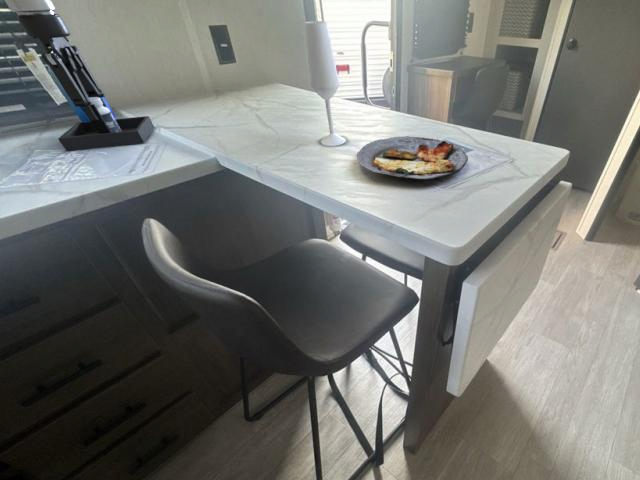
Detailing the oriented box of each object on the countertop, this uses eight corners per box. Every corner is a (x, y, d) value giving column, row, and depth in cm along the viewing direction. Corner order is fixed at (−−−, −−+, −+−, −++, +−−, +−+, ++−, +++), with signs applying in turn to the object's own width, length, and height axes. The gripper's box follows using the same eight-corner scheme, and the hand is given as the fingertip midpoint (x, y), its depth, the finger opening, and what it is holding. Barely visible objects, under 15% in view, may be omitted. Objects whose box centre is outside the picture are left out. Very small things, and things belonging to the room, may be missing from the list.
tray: (66, 151, 80) (57, 138, 77) (85, 133, 89) (77, 122, 86) (144, 143, 83) (137, 130, 81) (154, 127, 92) (148, 115, 90)
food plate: (472, 151, 79) (474, 136, 76) (457, 194, 63) (459, 177, 61) (378, 141, 84) (378, 127, 81) (343, 178, 68) (341, 162, 66)
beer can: (105, 119, 98) (66, 55, 86) (125, 122, 96) (88, 56, 84) (78, 128, 92) (32, 60, 81) (99, 130, 90) (55, 62, 79)
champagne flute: (324, 136, 87) (305, 20, 69) (348, 137, 86) (335, 20, 69) (317, 145, 82) (295, 23, 65) (342, 146, 81) (327, 23, 64)
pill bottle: (101, 141, 83) (77, 102, 77) (100, 135, 86) (76, 98, 80) (125, 137, 85) (102, 99, 79) (123, 131, 88) (101, 95, 82)
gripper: (38, 15, 63) (114, 139, 79) (73, 10, 75) (132, 118, 91) (-8, 17, 61) (80, 142, 78) (35, 11, 73) (103, 121, 90)
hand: (108, 129), depth 84 cm, fingers closed on pill bottle, 5 cm apart
